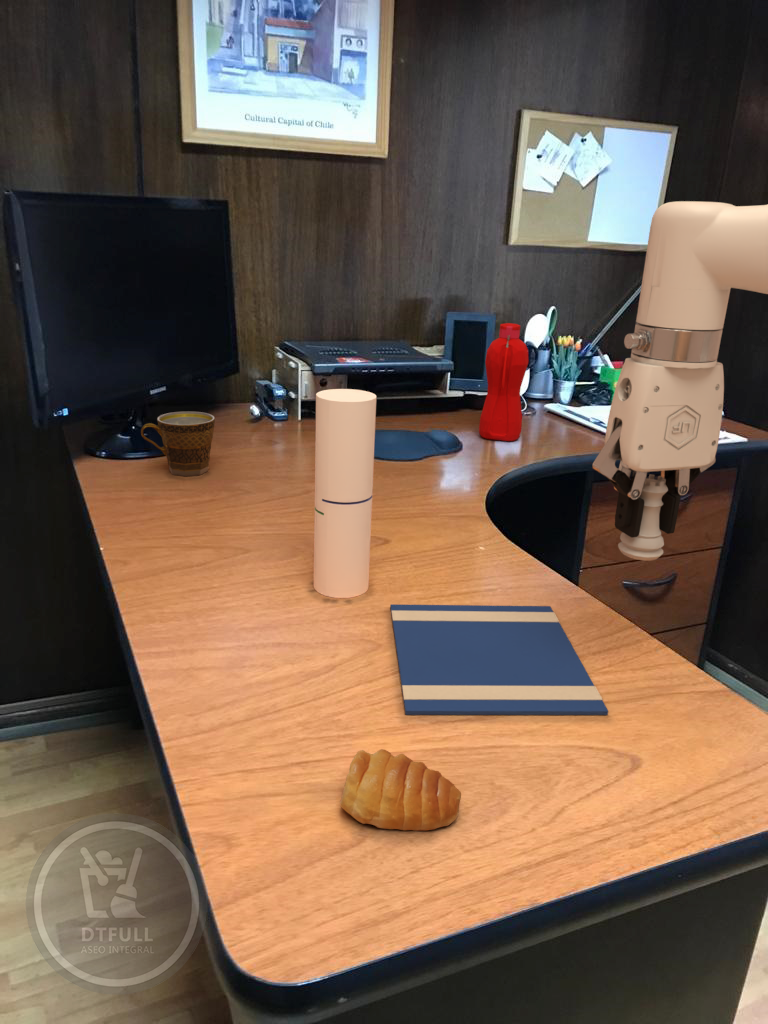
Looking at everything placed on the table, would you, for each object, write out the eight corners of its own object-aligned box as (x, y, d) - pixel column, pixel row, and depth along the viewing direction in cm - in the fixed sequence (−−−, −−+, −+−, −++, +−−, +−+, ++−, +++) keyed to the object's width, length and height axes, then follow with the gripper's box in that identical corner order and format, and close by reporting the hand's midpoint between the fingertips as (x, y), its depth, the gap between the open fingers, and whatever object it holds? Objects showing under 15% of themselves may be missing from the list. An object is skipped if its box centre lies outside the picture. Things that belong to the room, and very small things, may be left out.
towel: (549, 609, 96) (550, 605, 96) (607, 715, 76) (608, 710, 76) (390, 607, 95) (390, 603, 95) (405, 715, 75) (405, 709, 74)
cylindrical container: (349, 603, 96) (356, 404, 87) (302, 588, 99) (304, 395, 90) (378, 582, 102) (387, 394, 93) (333, 569, 105) (337, 386, 96)
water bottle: (475, 441, 170) (486, 325, 161) (481, 429, 180) (490, 319, 171) (518, 445, 168) (530, 328, 159) (521, 433, 178) (533, 322, 169)
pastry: (463, 789, 65) (467, 752, 64) (452, 849, 59) (456, 809, 57) (355, 769, 67) (357, 733, 65) (334, 825, 61) (335, 786, 59)
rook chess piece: (666, 550, 79) (679, 476, 77) (658, 565, 76) (672, 488, 73) (622, 541, 81) (633, 468, 78) (612, 555, 78) (624, 479, 75)
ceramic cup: (209, 461, 148) (207, 409, 144) (222, 476, 140) (220, 422, 136) (139, 467, 143) (135, 414, 139) (148, 483, 134) (144, 427, 131)
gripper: (623, 354, 65) (594, 553, 72) (777, 351, 70) (736, 537, 77) (575, 340, 72) (552, 524, 78) (719, 339, 77) (686, 511, 84)
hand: (644, 528), depth 78 cm, fingers closed on rook chess piece, 3 cm apart
